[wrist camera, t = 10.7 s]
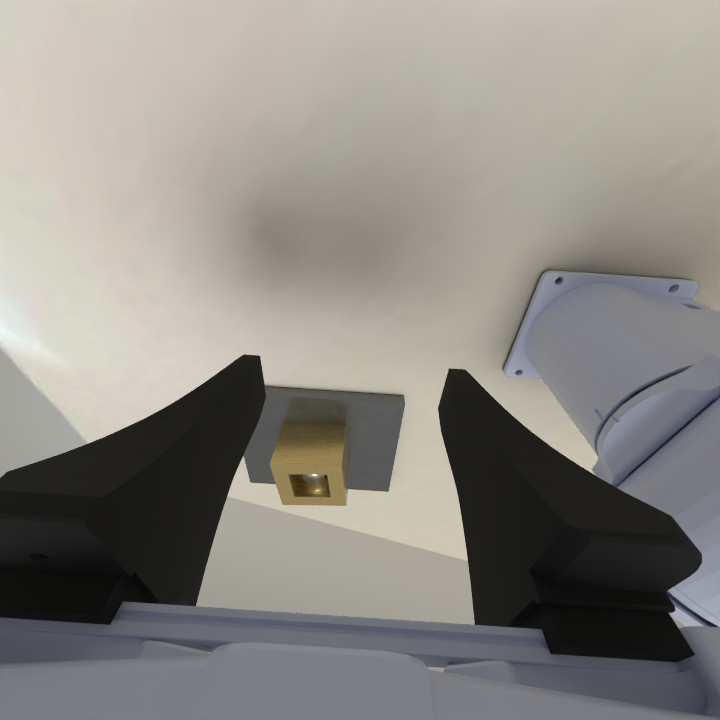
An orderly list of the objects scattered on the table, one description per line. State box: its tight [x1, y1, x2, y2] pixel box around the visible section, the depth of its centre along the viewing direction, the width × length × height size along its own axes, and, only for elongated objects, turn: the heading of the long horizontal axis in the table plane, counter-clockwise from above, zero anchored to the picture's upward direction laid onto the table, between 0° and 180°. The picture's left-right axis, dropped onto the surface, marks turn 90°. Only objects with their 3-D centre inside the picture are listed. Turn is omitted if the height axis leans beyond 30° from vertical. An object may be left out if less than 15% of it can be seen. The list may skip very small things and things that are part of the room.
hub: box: [270, 425, 349, 506], centre depth 26 cm, size 5×5×4 cm
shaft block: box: [244, 386, 405, 492], centre depth 27 cm, size 14×12×4 cm
